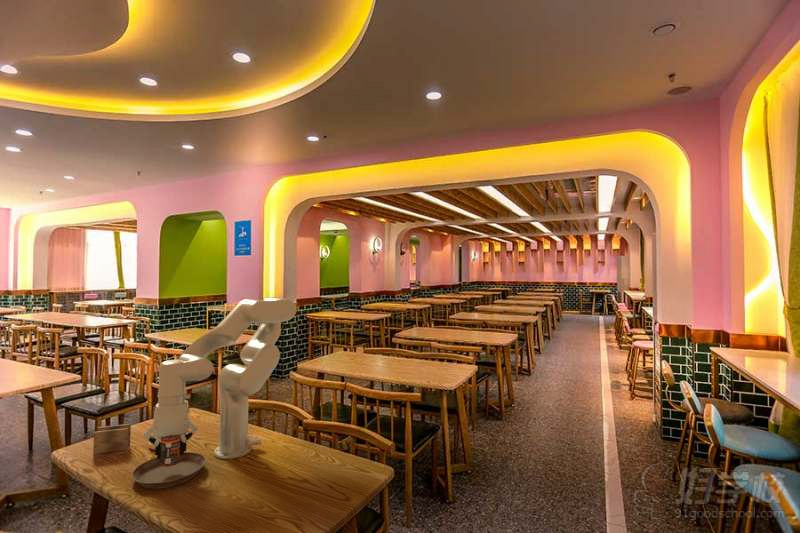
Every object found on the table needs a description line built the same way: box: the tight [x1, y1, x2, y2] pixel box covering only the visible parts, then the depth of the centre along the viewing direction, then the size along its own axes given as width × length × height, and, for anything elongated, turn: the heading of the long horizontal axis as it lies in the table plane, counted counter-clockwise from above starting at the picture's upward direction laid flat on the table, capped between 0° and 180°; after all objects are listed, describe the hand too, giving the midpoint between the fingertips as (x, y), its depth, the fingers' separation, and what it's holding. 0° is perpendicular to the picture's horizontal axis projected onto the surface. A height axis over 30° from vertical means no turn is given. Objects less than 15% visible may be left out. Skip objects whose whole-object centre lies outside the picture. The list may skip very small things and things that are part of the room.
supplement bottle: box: [160, 435, 182, 467], centre depth 132 cm, size 6×6×11 cm
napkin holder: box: [92, 423, 132, 458], centre depth 147 cm, size 10×5×9 cm, turn 113°
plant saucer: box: [131, 451, 206, 489], centre depth 132 cm, size 21×21×3 cm
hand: (170, 454), depth 132 cm, fingers closed on supplement bottle, 6 cm apart
